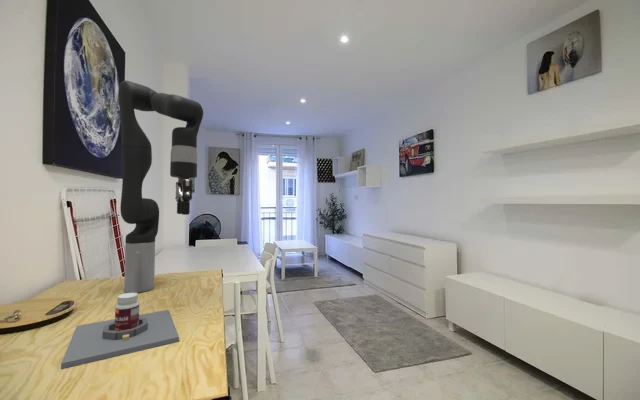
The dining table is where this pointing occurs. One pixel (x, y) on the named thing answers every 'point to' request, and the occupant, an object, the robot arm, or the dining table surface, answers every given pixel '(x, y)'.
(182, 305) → the dining table surface
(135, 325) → the pill bottle
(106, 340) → the socket
